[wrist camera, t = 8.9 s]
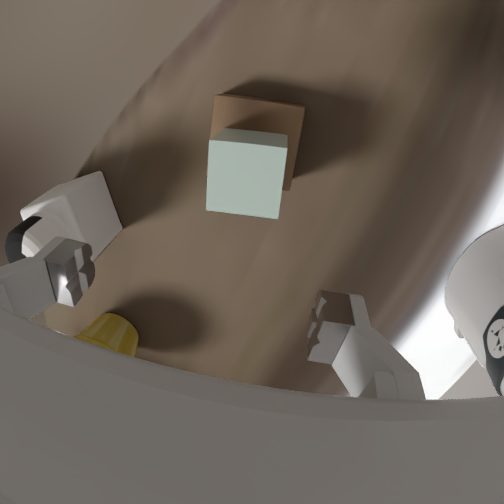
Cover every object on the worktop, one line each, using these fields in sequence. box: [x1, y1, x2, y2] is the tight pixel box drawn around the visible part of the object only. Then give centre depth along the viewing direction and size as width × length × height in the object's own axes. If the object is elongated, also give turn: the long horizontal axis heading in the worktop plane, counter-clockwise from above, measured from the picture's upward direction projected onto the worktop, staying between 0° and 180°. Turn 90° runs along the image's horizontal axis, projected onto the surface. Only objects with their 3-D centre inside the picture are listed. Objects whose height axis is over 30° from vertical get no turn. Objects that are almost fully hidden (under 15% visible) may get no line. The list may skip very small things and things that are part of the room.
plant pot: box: [74, 313, 139, 357], centre depth 38 cm, size 10×10×10 cm
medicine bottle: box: [5, 171, 122, 264], centre depth 27 cm, size 7×7×12 cm
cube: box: [206, 128, 288, 219], centre depth 23 cm, size 5×5×5 cm
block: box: [206, 93, 305, 191], centre depth 25 cm, size 7×7×3 cm
